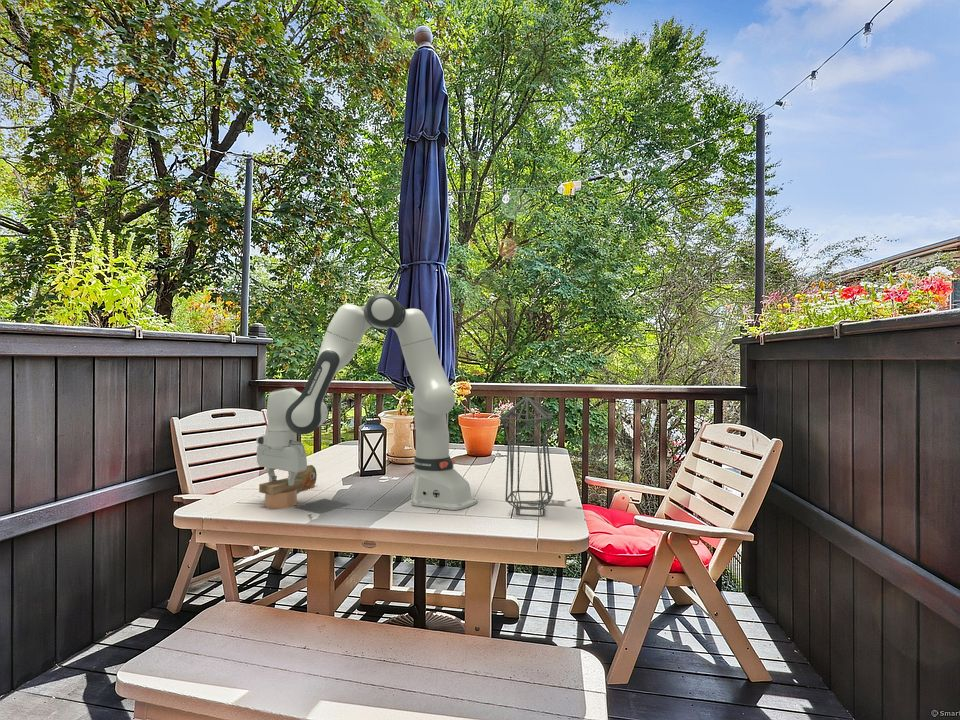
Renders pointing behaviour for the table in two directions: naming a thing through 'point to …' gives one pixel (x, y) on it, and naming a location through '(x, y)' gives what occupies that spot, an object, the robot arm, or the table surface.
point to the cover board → (279, 486)
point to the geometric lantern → (545, 416)
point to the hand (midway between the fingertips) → (281, 483)
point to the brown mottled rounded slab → (307, 478)
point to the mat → (322, 506)
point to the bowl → (281, 500)
